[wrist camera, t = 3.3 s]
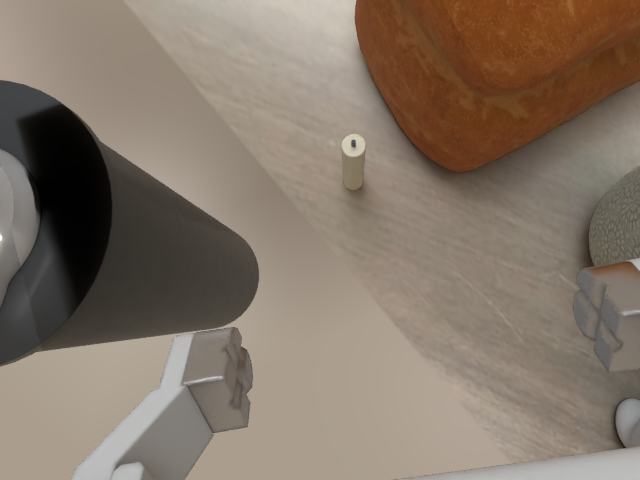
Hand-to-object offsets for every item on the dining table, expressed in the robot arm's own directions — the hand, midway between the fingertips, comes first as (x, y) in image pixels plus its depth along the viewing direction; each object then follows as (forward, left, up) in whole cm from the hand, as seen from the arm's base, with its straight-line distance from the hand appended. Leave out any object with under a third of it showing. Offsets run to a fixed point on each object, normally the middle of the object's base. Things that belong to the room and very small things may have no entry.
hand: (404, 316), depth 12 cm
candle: (+3, +10, -27) cm, 29 cm away
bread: (+18, +16, -27) cm, 36 cm away
